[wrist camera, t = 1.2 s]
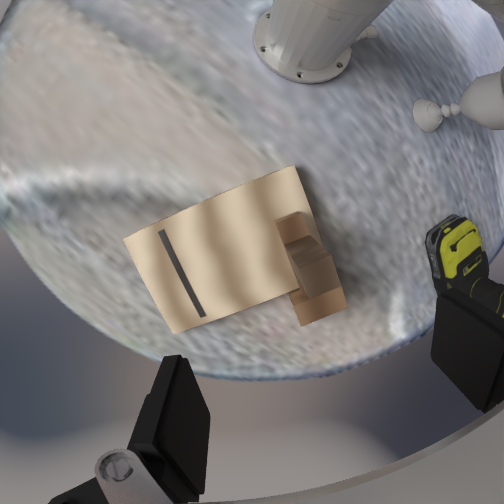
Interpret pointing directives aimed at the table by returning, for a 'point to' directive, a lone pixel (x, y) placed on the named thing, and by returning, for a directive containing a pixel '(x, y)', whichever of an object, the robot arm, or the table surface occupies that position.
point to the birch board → (221, 251)
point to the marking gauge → (310, 272)
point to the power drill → (462, 262)
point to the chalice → (468, 105)
